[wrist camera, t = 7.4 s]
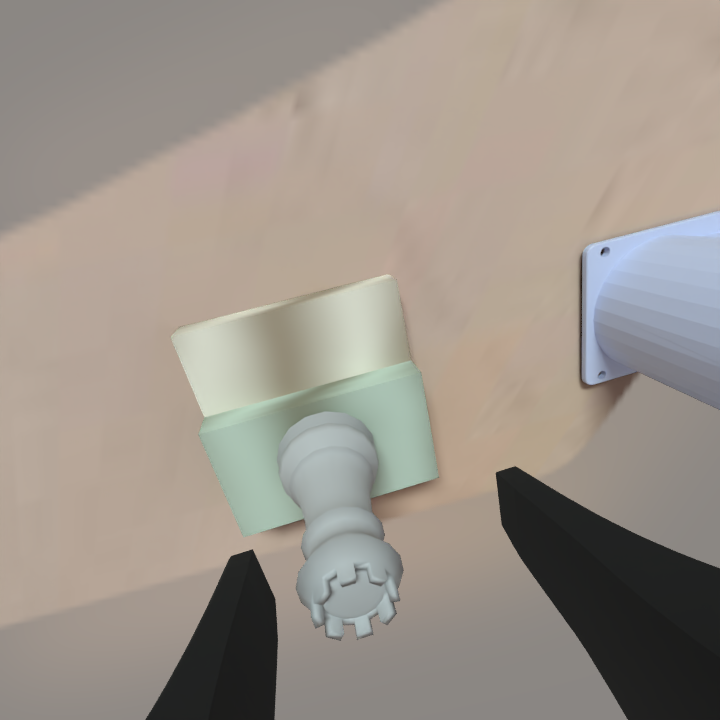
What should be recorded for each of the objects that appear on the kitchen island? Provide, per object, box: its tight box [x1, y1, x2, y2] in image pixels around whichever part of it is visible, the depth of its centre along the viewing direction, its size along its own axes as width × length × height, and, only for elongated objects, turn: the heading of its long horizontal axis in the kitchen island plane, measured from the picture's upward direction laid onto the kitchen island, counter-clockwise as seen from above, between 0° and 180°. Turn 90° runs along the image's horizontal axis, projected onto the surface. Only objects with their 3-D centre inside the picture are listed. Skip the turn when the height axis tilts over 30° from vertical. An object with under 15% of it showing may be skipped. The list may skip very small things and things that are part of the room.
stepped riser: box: [171, 274, 439, 537], centre depth 19 cm, size 10×10×3 cm
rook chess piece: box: [277, 411, 403, 641], centre depth 15 cm, size 4×4×8 cm
